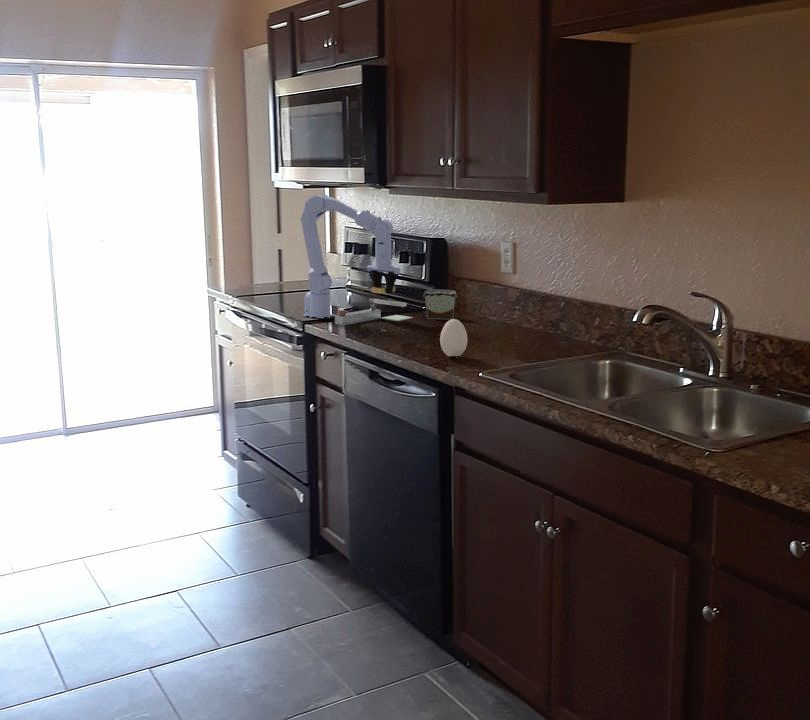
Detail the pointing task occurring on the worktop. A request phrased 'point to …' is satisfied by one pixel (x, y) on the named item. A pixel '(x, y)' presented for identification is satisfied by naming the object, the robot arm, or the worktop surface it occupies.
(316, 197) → the robot arm
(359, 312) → the plane body
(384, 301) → the lever
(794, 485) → the worktop surface
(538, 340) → the worktop surface
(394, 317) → the mat
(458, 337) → the egg
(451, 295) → the food container
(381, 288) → the cap
